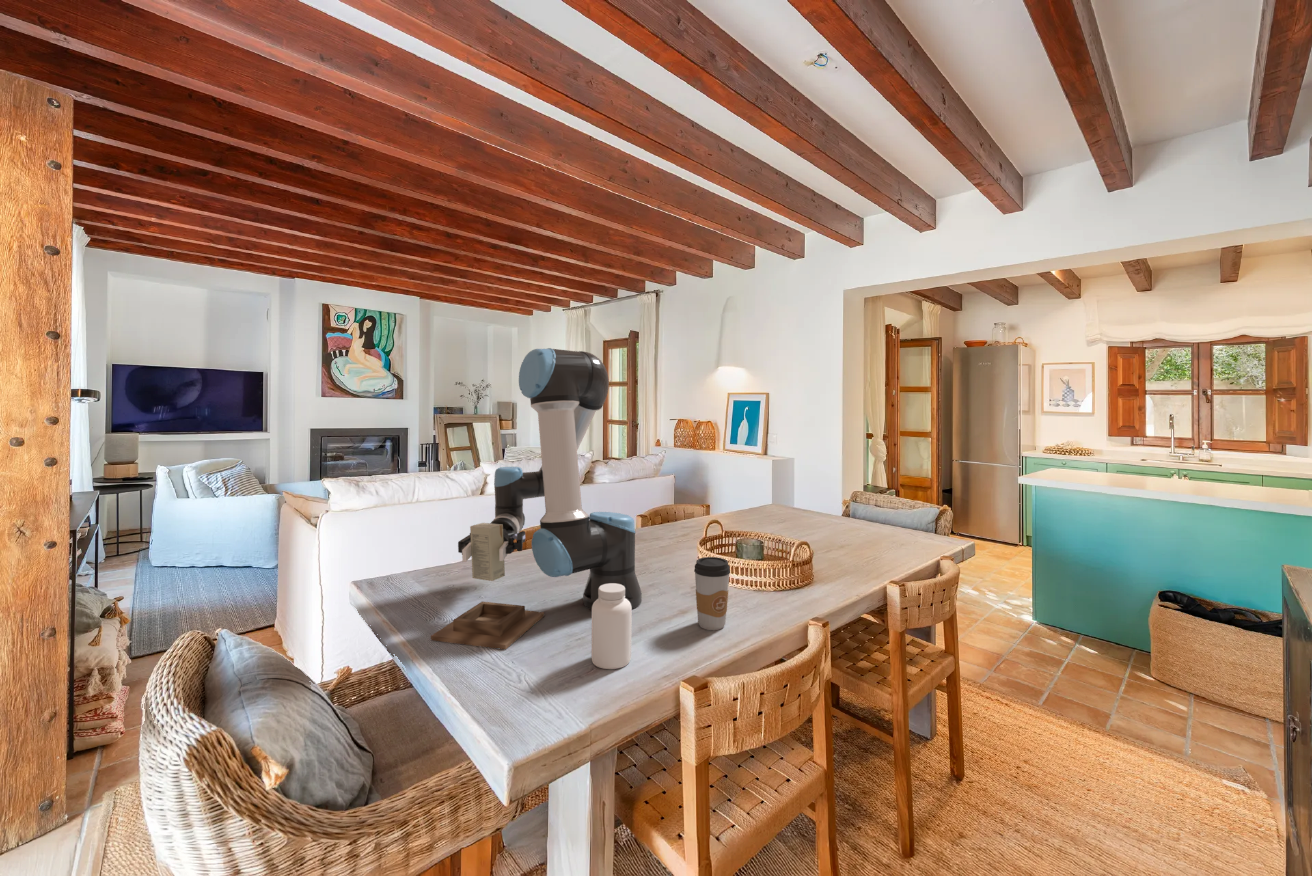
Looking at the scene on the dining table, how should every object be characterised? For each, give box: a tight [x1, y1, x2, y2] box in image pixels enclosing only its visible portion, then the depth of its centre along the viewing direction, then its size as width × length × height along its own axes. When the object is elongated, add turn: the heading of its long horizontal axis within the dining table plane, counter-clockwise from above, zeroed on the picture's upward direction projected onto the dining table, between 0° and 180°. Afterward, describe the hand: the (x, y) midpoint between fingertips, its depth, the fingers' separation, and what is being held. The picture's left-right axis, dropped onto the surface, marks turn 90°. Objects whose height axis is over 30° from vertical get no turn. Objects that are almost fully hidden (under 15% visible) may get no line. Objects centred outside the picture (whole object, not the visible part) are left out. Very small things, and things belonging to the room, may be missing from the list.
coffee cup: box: [694, 556, 731, 631], centre depth 123 cm, size 8×8×15 cm
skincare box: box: [469, 522, 506, 582], centre depth 122 cm, size 6×4×12 cm
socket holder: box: [430, 601, 545, 650], centre depth 122 cm, size 18×18×4 cm
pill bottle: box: [590, 583, 633, 670], centre depth 106 cm, size 8×8×15 cm
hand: (482, 555), depth 117 cm, fingers closed on skincare box, 7 cm apart
